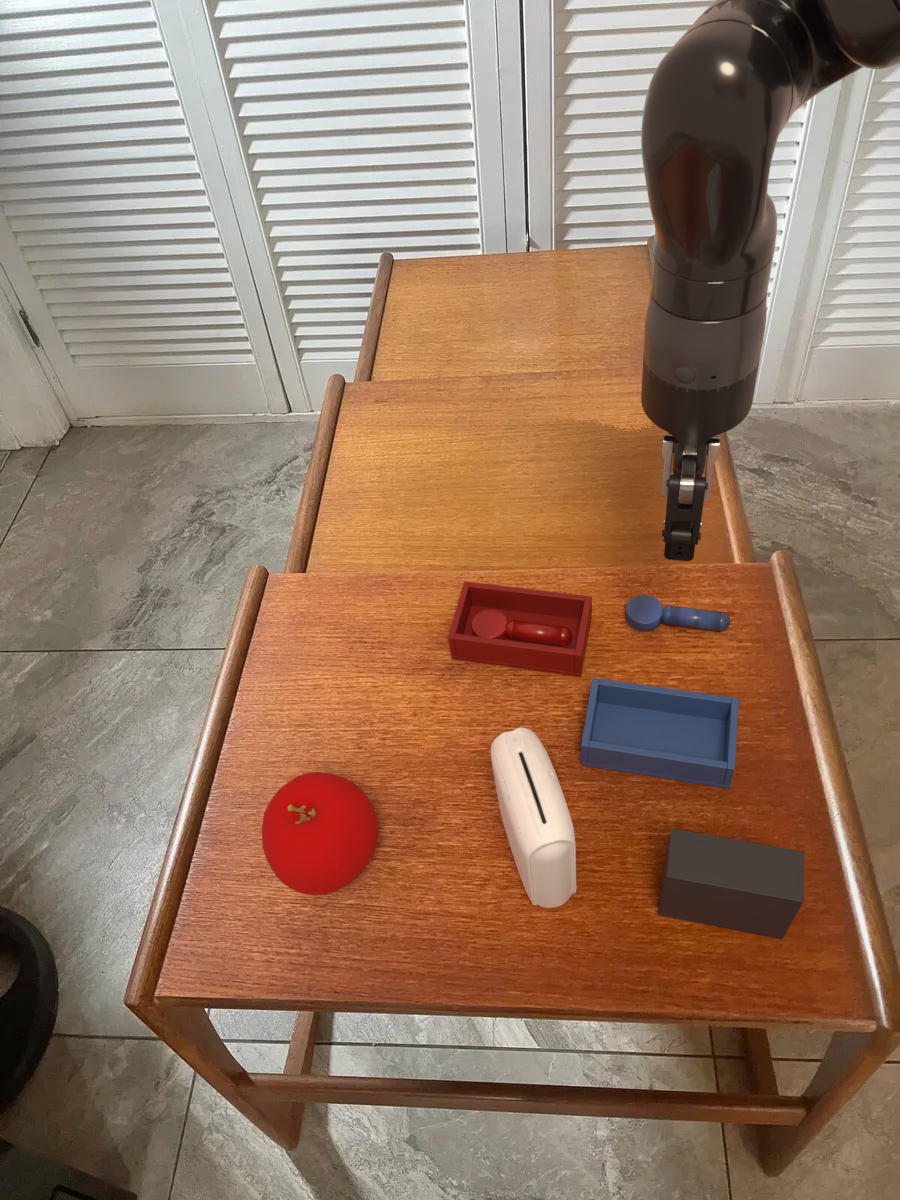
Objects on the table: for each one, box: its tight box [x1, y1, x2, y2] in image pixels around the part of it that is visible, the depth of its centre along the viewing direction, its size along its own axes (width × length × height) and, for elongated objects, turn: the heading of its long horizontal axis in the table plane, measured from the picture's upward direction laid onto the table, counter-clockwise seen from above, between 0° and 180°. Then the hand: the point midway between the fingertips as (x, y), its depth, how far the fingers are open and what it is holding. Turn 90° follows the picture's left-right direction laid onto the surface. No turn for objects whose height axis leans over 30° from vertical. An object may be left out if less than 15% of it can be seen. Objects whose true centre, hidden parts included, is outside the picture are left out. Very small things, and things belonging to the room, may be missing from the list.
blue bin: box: [580, 677, 740, 790], centre depth 76 cm, size 12×7×4 cm, turn 76°
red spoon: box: [471, 609, 572, 646], centre depth 85 cm, size 10×3×2 cm, turn 76°
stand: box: [657, 828, 805, 940], centre depth 66 cm, size 9×4×8 cm, turn 76°
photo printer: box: [490, 727, 578, 909], centre depth 68 cm, size 10×4×12 cm, turn 14°
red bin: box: [447, 580, 593, 678], centre depth 84 cm, size 12×7×4 cm, turn 76°
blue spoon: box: [625, 594, 731, 633], centre depth 84 cm, size 10×3×2 cm, turn 76°
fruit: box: [261, 771, 379, 896], centre depth 71 cm, size 9×9×10 cm
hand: (682, 516), depth 72 cm, fingers open, 8 cm apart
